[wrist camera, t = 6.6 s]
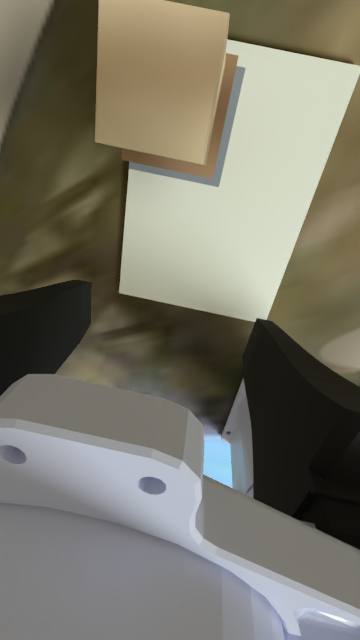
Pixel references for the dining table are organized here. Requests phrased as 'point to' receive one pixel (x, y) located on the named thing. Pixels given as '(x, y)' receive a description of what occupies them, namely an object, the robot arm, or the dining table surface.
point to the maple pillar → (159, 76)
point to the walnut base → (215, 137)
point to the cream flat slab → (238, 190)
